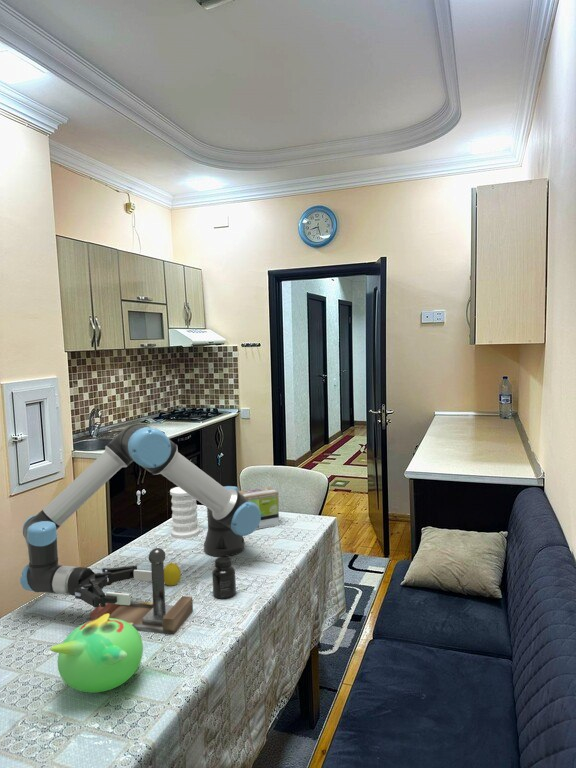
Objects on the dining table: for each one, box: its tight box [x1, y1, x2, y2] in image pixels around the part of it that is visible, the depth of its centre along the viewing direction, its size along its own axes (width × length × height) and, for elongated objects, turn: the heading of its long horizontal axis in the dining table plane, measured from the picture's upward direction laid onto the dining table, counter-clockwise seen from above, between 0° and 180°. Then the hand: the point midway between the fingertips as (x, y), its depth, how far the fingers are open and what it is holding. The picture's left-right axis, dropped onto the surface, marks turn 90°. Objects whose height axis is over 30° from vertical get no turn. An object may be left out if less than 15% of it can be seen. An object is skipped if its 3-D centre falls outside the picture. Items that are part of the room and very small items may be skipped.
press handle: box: [142, 547, 174, 627], centre depth 139 cm, size 6×8×20 cm
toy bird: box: [50, 613, 144, 694], centre depth 115 cm, size 18×17×15 cm
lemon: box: [164, 562, 182, 587], centre depth 161 cm, size 6×6×8 cm
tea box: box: [238, 486, 280, 530], centre depth 216 cm, size 15×10×15 cm, turn 117°
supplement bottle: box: [211, 556, 237, 601], centre depth 153 cm, size 7×7×12 cm
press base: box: [90, 591, 194, 636], centre depth 141 cm, size 24×12×6 cm, turn 77°
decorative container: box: [169, 486, 201, 539], centre depth 209 cm, size 12×12×18 cm
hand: (143, 587), depth 140 cm, fingers open, 13 cm apart
